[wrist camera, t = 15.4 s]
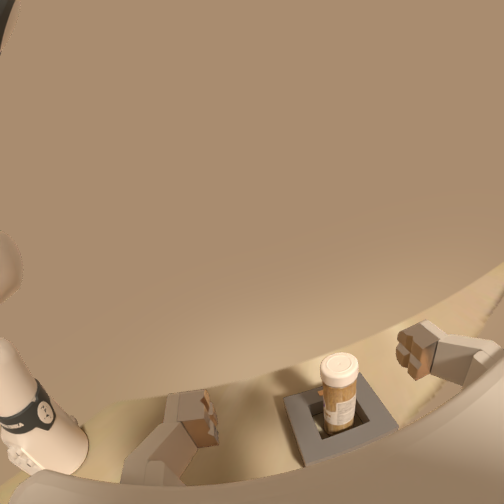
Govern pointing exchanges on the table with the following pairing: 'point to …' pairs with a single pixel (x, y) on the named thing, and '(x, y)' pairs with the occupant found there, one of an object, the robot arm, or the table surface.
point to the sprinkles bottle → (339, 391)
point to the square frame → (318, 450)
